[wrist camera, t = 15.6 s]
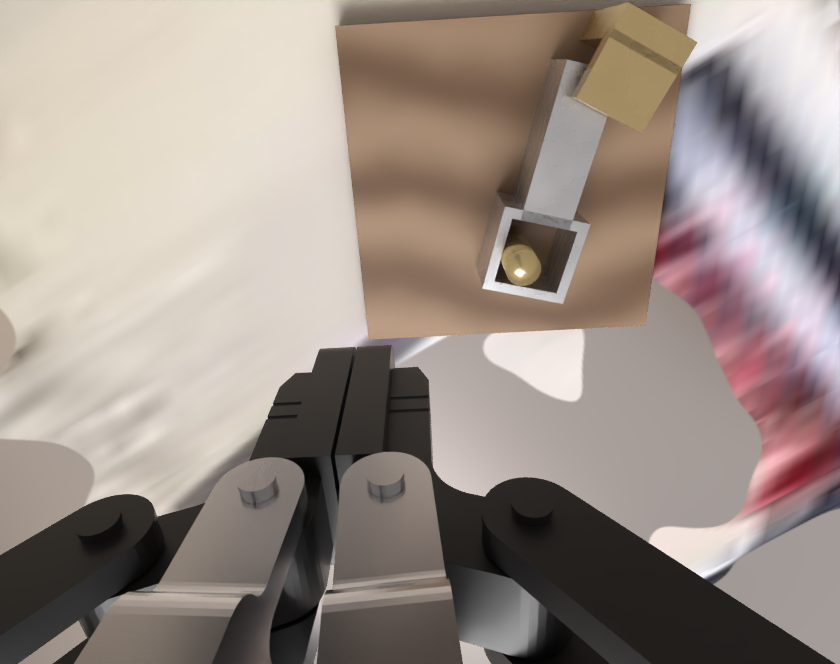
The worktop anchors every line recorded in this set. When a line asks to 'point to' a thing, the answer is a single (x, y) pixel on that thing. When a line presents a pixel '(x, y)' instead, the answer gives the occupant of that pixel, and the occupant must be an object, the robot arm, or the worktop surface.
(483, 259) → the link
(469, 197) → the board
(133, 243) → the worktop surface
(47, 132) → the worktop surface
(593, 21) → the block
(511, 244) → the cylinder
